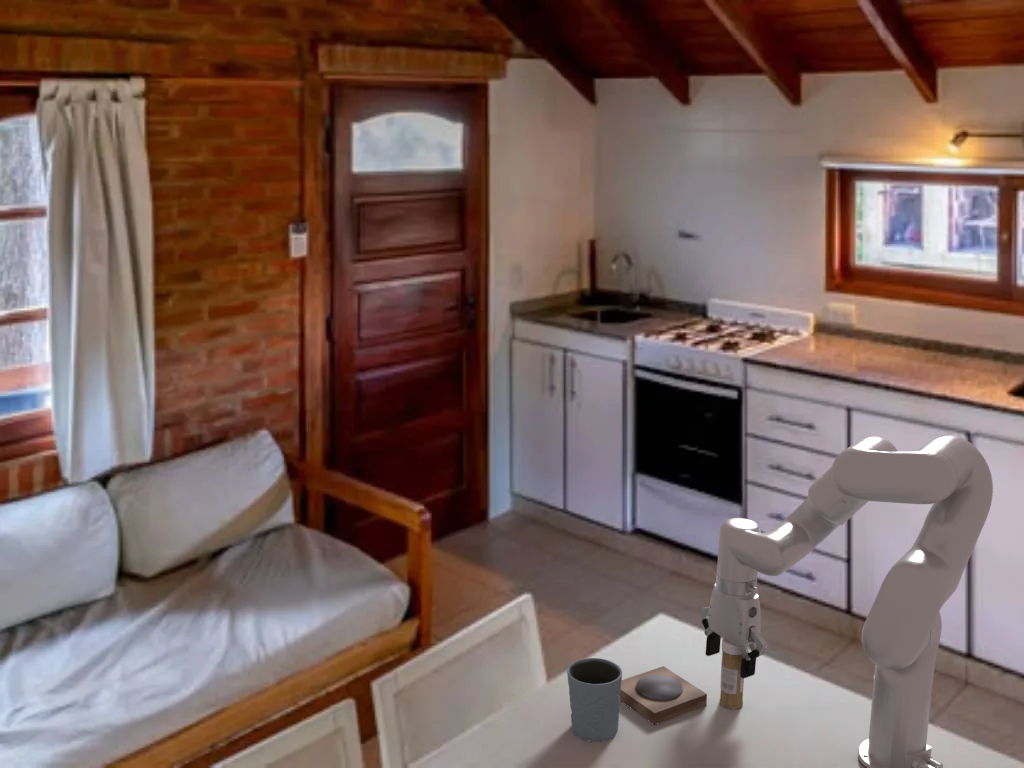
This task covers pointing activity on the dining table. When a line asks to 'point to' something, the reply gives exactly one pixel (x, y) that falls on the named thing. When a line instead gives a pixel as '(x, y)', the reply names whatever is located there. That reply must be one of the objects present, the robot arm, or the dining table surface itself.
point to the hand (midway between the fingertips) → (729, 664)
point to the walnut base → (661, 695)
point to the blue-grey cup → (594, 698)
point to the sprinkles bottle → (731, 676)
